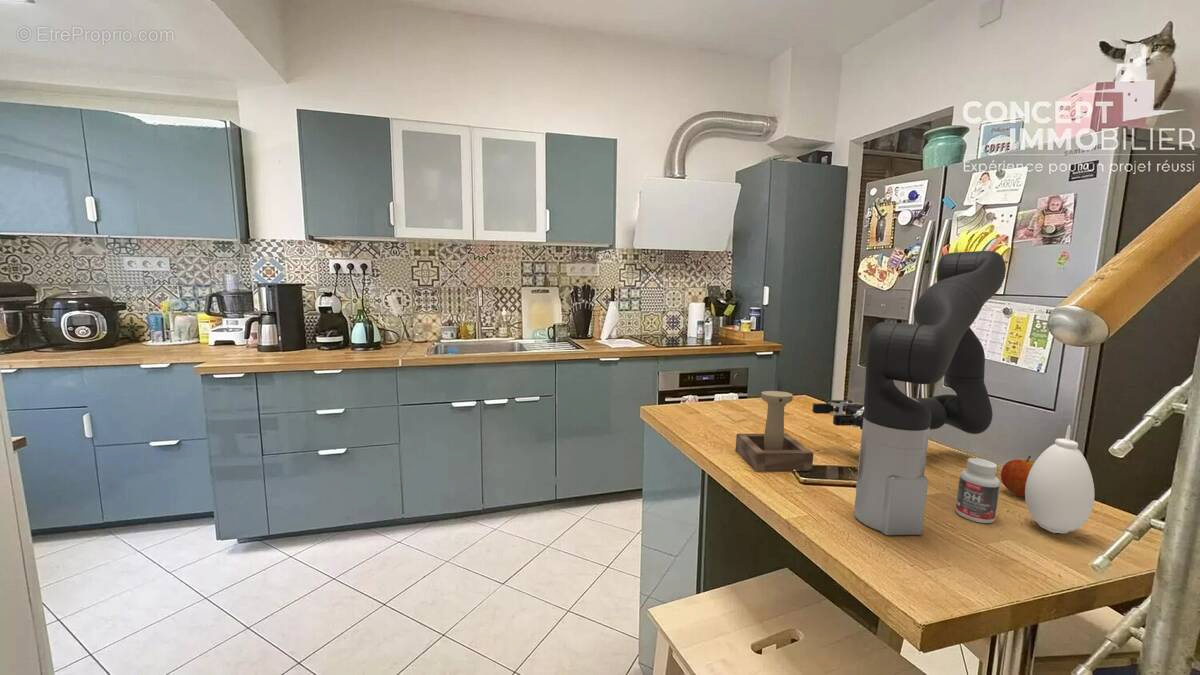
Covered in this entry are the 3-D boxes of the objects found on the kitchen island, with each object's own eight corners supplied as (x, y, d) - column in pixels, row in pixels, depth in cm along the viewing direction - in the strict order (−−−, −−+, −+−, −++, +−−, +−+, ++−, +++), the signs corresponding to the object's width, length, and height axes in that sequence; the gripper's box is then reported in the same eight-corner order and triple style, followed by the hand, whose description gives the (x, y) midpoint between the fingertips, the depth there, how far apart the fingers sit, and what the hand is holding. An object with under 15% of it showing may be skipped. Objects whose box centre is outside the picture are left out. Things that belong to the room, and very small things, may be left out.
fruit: (1018, 504, 87) (1025, 462, 85) (989, 487, 93) (994, 448, 92) (1058, 505, 86) (1064, 463, 85) (1025, 488, 93) (1031, 449, 92)
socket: (811, 471, 99) (813, 452, 99) (756, 471, 98) (757, 453, 98) (785, 449, 111) (786, 433, 110) (735, 450, 110) (736, 433, 110)
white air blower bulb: (1036, 538, 75) (1054, 429, 72) (1010, 515, 82) (1025, 415, 80) (1099, 548, 73) (1119, 435, 70) (1066, 523, 80) (1084, 420, 78)
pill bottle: (959, 519, 80) (967, 464, 79) (951, 505, 85) (958, 453, 84) (999, 527, 78) (1007, 471, 77) (988, 512, 83) (996, 459, 82)
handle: (791, 464, 102) (796, 397, 100) (761, 463, 102) (765, 396, 100) (782, 456, 107) (787, 391, 105) (754, 455, 107) (758, 390, 105)
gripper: (874, 389, 112) (808, 389, 111) (919, 406, 98) (843, 406, 96) (871, 420, 113) (805, 420, 112) (914, 441, 99) (840, 442, 97)
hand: (823, 414), depth 104 cm, fingers open, 8 cm apart
